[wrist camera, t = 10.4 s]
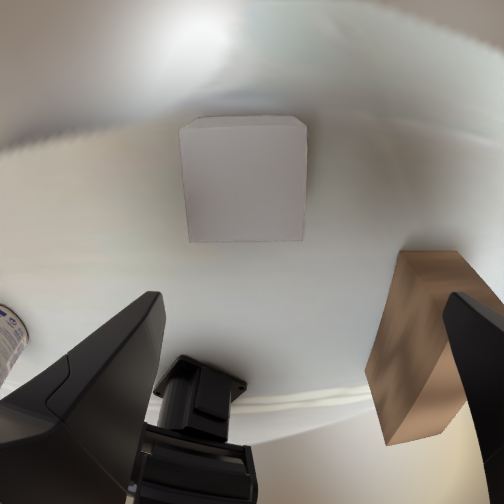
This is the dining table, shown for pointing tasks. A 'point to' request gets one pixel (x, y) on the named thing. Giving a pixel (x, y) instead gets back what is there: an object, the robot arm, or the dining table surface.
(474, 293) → the brown wooden block
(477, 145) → the dining table surface
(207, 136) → the letter cube
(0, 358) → the energy drink
